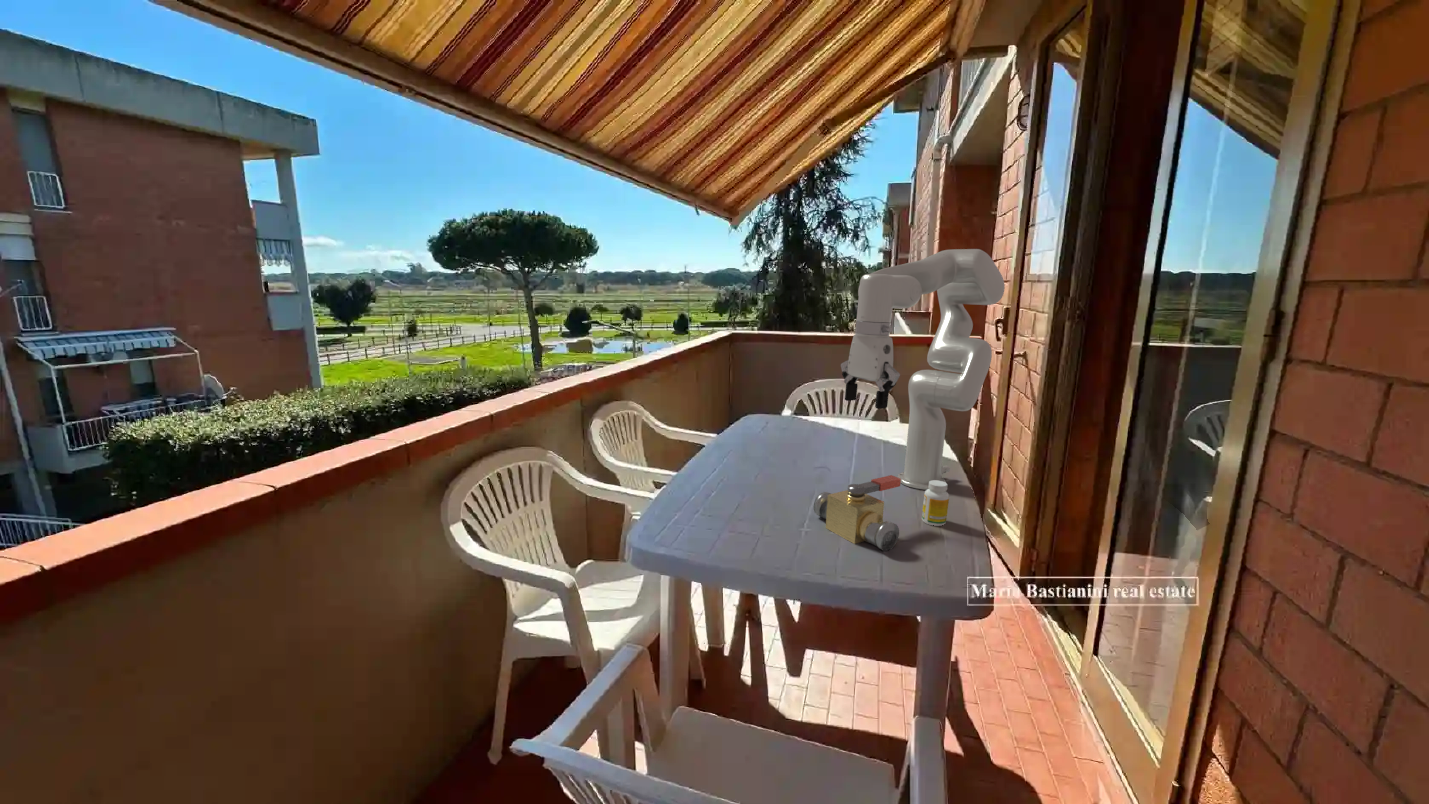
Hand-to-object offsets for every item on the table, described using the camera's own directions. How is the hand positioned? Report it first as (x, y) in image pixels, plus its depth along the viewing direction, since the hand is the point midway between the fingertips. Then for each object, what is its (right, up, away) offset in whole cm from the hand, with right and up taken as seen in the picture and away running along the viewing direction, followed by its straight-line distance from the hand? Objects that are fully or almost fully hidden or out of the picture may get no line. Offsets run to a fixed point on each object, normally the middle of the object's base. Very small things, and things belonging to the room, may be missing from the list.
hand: (865, 404), depth 131 cm
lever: (+1, -19, -4) cm, 20 cm away
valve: (-4, -28, -5) cm, 29 cm away
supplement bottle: (+16, -28, +1) cm, 32 cm away
